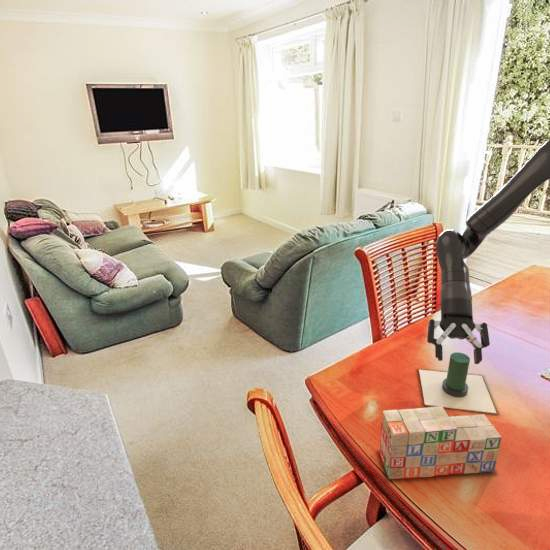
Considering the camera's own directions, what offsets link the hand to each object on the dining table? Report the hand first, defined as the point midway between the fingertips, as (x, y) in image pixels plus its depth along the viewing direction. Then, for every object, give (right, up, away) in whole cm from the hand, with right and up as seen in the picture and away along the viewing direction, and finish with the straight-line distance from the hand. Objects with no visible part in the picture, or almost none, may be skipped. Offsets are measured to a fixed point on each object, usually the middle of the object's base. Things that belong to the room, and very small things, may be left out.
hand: (458, 362), depth 94 cm
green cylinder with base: (0, -8, +2) cm, 8 cm away
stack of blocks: (-13, -17, -17) cm, 27 cm away
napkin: (0, -8, +3) cm, 8 cm away
